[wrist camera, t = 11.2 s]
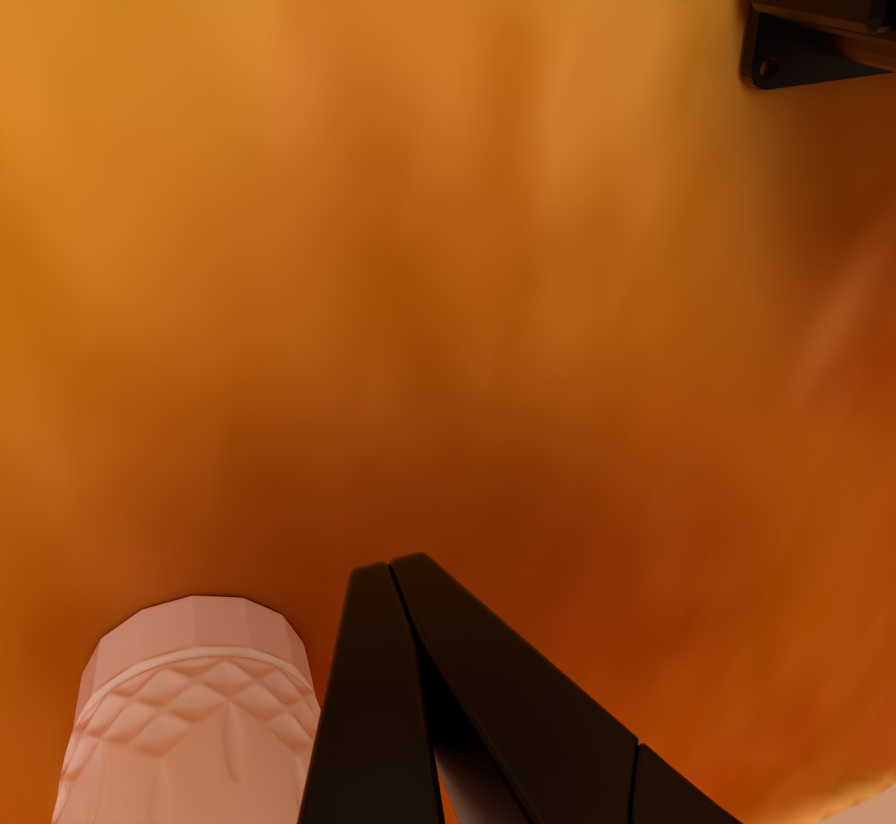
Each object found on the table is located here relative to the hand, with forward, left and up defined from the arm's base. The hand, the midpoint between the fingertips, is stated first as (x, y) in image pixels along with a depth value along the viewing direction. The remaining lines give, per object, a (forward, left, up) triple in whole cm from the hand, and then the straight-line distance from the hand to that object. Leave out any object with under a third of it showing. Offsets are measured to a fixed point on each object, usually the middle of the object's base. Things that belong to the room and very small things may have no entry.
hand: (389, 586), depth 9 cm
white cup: (+5, +14, -12) cm, 19 cm away
